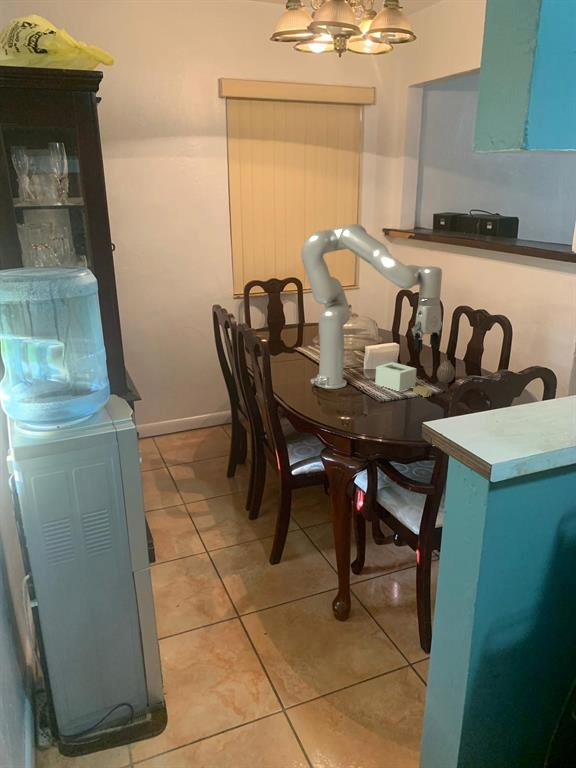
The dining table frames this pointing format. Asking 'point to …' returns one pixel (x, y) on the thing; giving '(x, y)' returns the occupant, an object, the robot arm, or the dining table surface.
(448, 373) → the vase
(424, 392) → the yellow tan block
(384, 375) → the coin box
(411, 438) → the dining table surface
